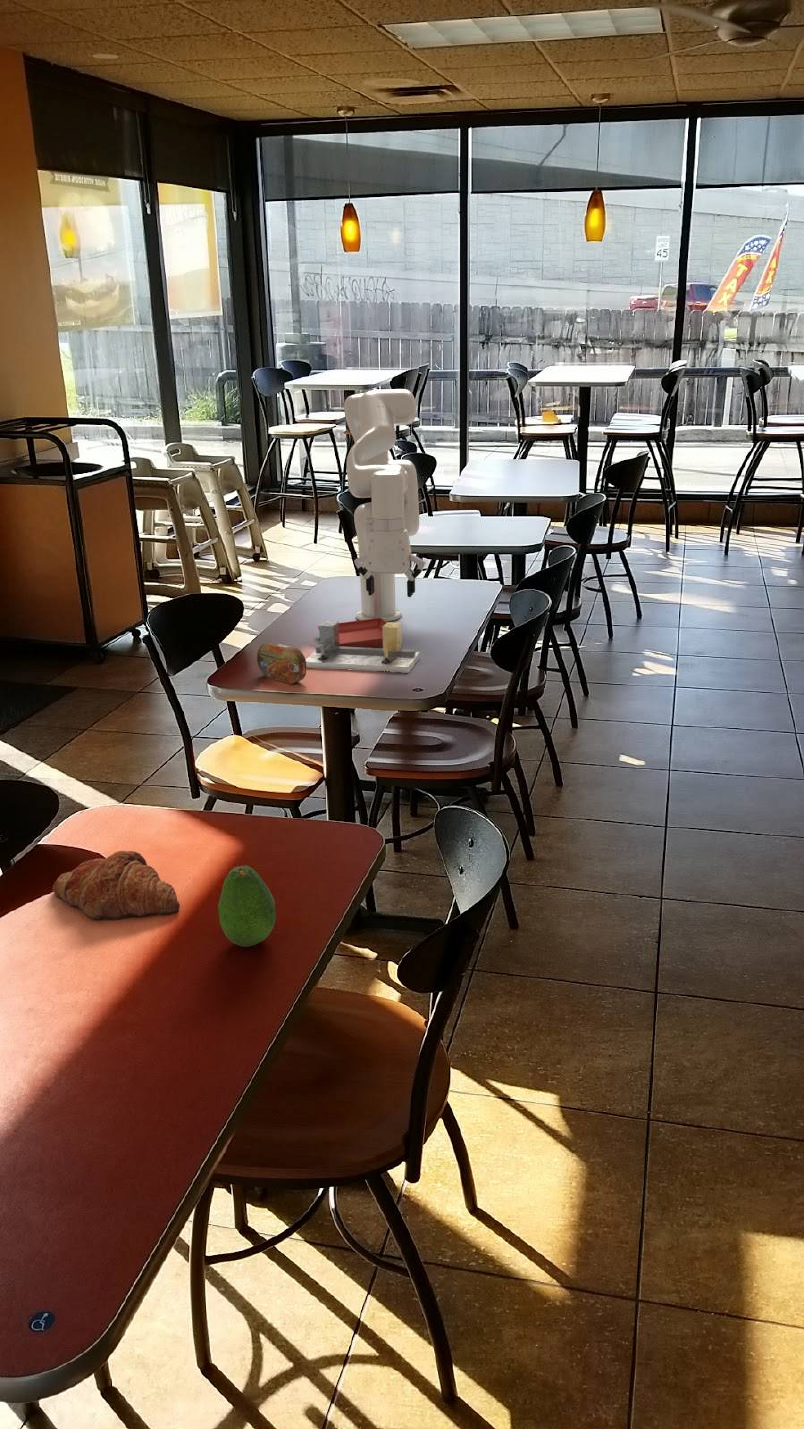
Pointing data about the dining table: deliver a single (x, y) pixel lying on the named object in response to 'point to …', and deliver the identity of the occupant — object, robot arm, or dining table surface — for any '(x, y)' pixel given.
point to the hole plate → (356, 654)
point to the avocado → (246, 907)
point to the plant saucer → (361, 633)
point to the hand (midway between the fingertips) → (390, 594)
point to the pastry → (117, 888)
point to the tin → (281, 662)
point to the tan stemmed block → (392, 637)
